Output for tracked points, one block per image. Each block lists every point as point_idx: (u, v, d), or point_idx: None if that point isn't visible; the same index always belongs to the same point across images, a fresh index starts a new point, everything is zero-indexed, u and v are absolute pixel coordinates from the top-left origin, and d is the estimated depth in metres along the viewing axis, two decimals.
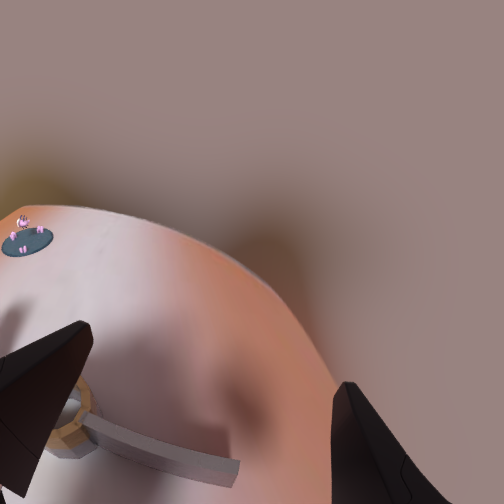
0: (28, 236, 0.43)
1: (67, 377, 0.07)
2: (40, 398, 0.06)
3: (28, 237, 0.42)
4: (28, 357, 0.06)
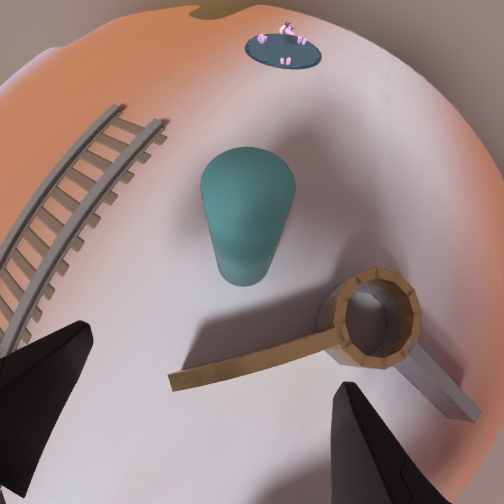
0: (284, 44, 0.36)
1: (67, 377, 0.07)
2: (40, 398, 0.06)
3: (285, 45, 0.36)
4: (28, 357, 0.06)
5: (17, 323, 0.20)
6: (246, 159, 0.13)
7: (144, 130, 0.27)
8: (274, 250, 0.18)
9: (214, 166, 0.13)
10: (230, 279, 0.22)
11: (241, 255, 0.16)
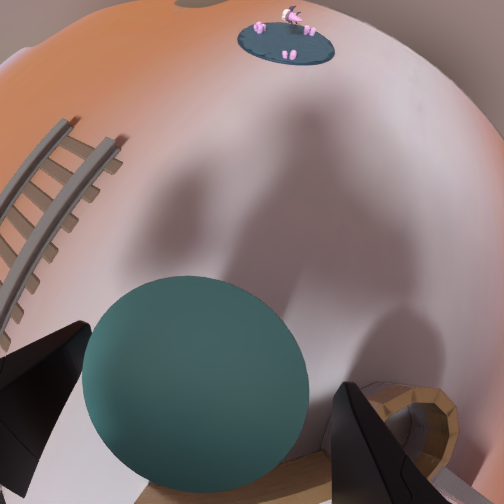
0: (287, 34, 0.28)
1: (67, 377, 0.07)
2: (40, 398, 0.06)
3: (289, 36, 0.27)
4: (28, 357, 0.06)
5: None
6: (184, 318, 0.05)
7: (91, 155, 0.19)
8: None
9: (108, 335, 0.05)
10: None
11: None
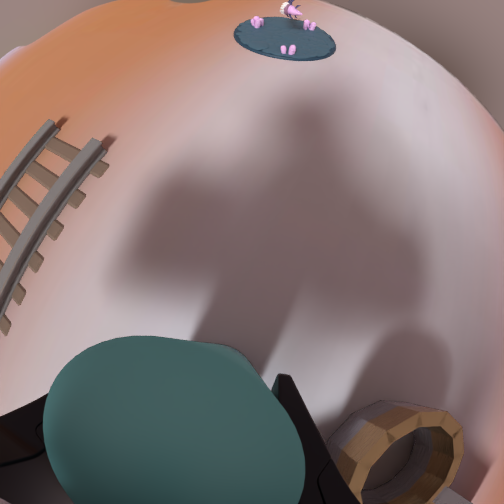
0: (286, 29, 0.26)
1: None
2: None
3: (288, 30, 0.26)
4: None
5: None
6: (148, 389, 0.04)
7: (77, 157, 0.17)
8: None
9: (65, 398, 0.03)
10: None
11: None
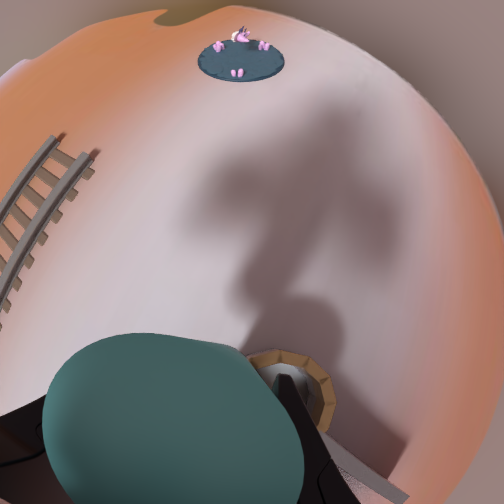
0: (243, 51, 0.33)
1: None
2: None
3: (244, 53, 0.33)
4: None
5: None
6: (147, 387, 0.04)
7: (72, 165, 0.25)
8: None
9: (64, 396, 0.03)
10: None
11: None
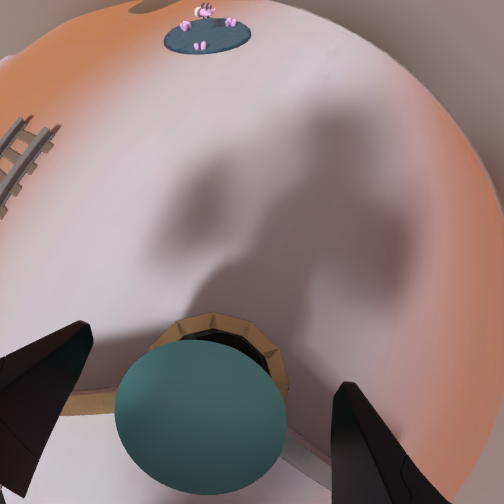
0: (209, 28, 0.30)
1: (67, 377, 0.07)
2: (40, 398, 0.06)
3: (210, 29, 0.30)
4: (28, 357, 0.06)
5: None
6: (193, 372, 0.06)
7: (33, 140, 0.22)
8: None
9: (135, 383, 0.06)
10: None
11: None
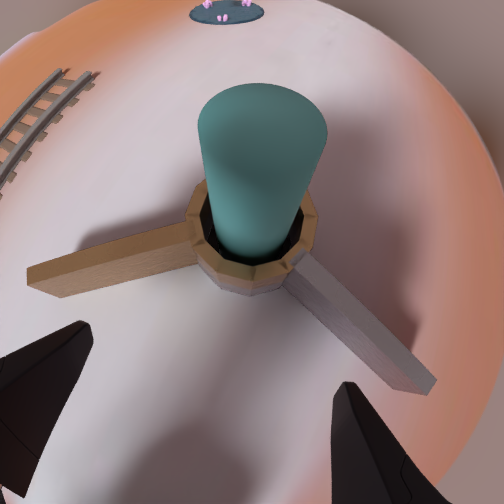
0: (228, 7, 0.33)
1: (67, 377, 0.07)
2: (40, 398, 0.06)
3: (229, 7, 0.33)
4: (28, 357, 0.06)
5: None
6: (260, 95, 0.09)
7: (76, 80, 0.25)
8: (291, 224, 0.14)
9: (218, 102, 0.09)
10: None
11: (251, 226, 0.12)
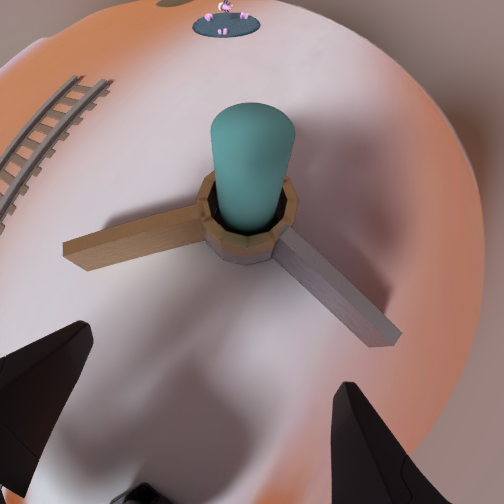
0: (228, 20, 0.38)
1: (67, 377, 0.07)
2: (40, 398, 0.06)
3: (228, 20, 0.38)
4: (28, 357, 0.06)
5: None
6: (251, 111, 0.14)
7: (93, 87, 0.30)
8: (276, 204, 0.19)
9: (223, 116, 0.14)
10: None
11: (245, 201, 0.17)
